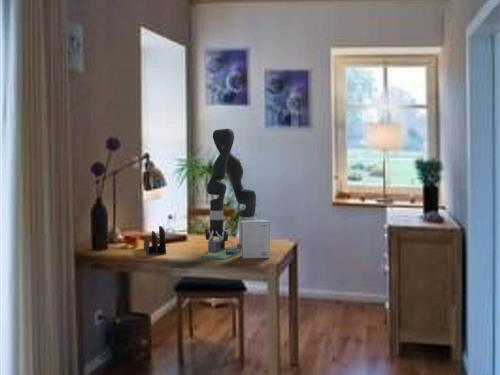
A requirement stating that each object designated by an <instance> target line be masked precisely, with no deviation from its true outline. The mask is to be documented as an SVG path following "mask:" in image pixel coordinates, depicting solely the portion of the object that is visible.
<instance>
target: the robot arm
mask: <svg viewBox="0 0 500 375" xmlns="http://www.w3.org/2000/svg"><path fill="white" fill-rule="evenodd" d="M234 133H235V132H234V131H233V130H232V129H231V128H221V129H215V130H214V131H213V132H212V139H213V142H214V145H215V147H216V149H217V151H218V153H219V154H218V156H217V157H216V159H215V161H214V163H213V168H212V173H211V176H210V179H209V180H208V183H207V186H206V192H207V194H208V195H211V196H218V198H213V199H211V200H210V203H209V206H210V207H209V208H210V210H209V228H205V230H204V231H205V239H206V241H207V240H208V242H209V241H212V240H214V238H215V237H216V238H217V239H220V241H221V249H224V242H225V243H226V242H227V241H229V240H228V239H229V230H225V229H224V223H225V222H224V200H225V196H226V192H227V185H226V183H225V182H222V180H224V179H225V178H226V172H227V175H228V178H229V180H230V184H231V186H232V190H233V192H234V197H235V200H236V202H237V203H238V204H239V205H245V207H244V209H242V210H240V211H238V245H240V246H242V235H241V221H247V220H255V212H256V207H257V206H256V205H257V195H256V192H255V190H253V189H246V188H244V187H243V184H242V179H243V174H244V169H243V168H244V167H243V165H242V164H241V163H242V162H241V161H240V159H239V158H238V157H237V156H236V155H235V154H234V153H233V152H232V148H233V145H234V141H235V134H234ZM220 181H221V182H220Z"/></svg>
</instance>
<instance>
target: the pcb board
mask: <svg viewBox="0 0 500 375" xmlns="http://www.w3.org/2000/svg"><path fill="white" fill-rule="evenodd" d="M237 246H238V245H237V243H235V244H232V245H229V249H227V250H226V249H225V250H224V251H221V252H218V253H208V252H207V253H205V254H203V255H201V257H202V258H205V257H206V258H207V259H213V258H214V259H213V260H220V259H221V260H220V261H225V260H227V259H231V258H233V256H234V257H237V256H239V255H242V249H241V248H238V247H237ZM236 255H237V256H236ZM230 257H231V258H230Z"/></svg>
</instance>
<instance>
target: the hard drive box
mask: <svg viewBox="0 0 500 375" xmlns="http://www.w3.org/2000/svg"><path fill="white" fill-rule="evenodd" d="M270 230H271V223H270V220H269V219H265V220H263V219H260V220H259V219H257V220H256V219H254V220H247V221H241V235H242V245H241V259H270V258H271V241H270V240H271V233H270V232H271V231H270Z"/></svg>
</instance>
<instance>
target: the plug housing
mask: <svg viewBox="0 0 500 375" xmlns="http://www.w3.org/2000/svg"><path fill="white" fill-rule="evenodd" d="M224 250H226V241H225V242H224V249H221V241H220V239H219V238H217V239H213V240H212V241H209V240H208V241H207V254H208V253H218V252H221V251H224Z"/></svg>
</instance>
